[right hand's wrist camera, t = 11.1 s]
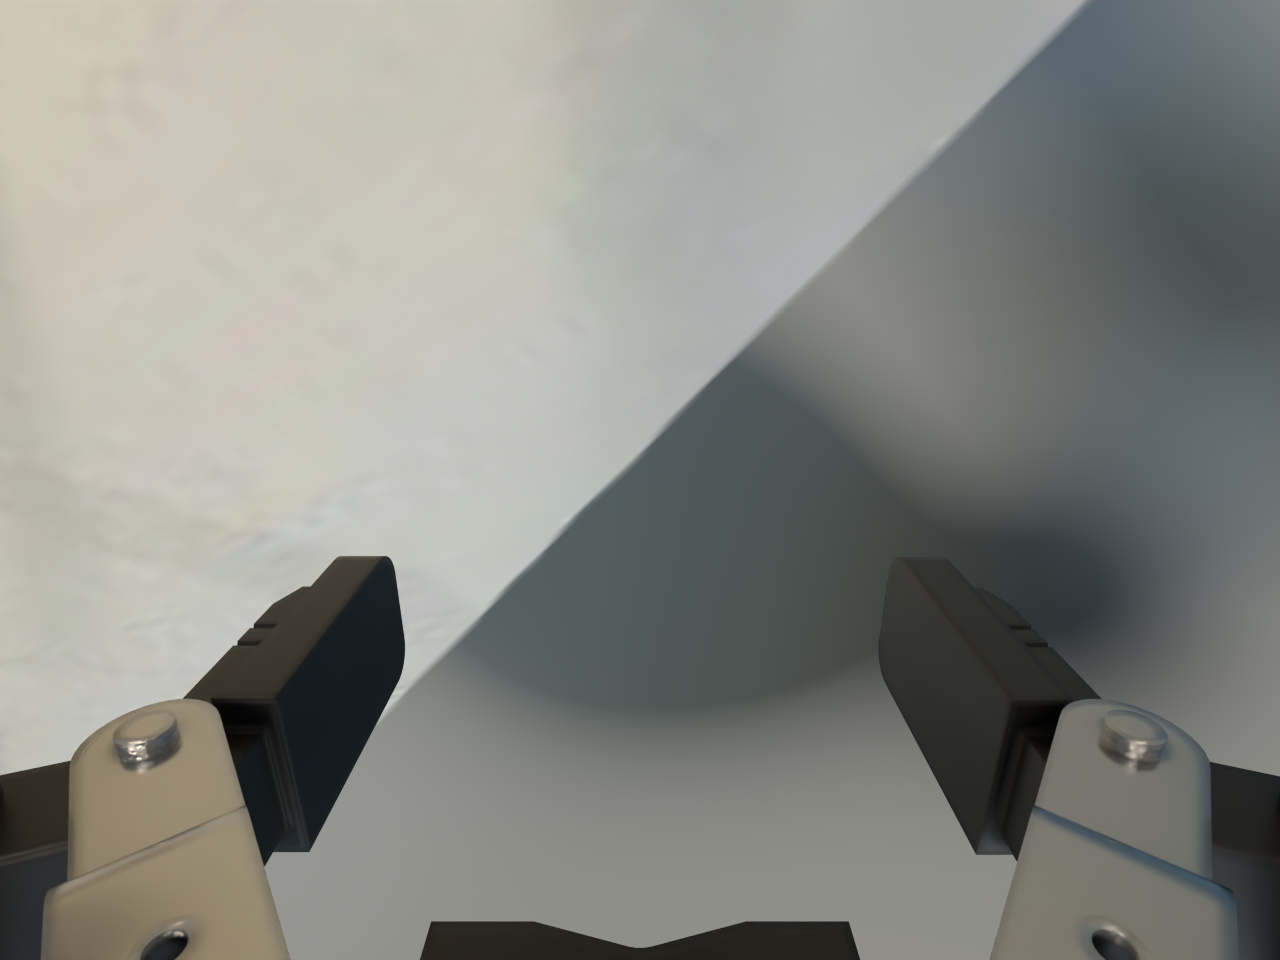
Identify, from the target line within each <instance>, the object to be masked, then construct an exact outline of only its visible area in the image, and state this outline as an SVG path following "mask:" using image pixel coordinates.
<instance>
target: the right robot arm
mask: <svg viewBox="0 0 1280 960" xmlns="http://www.w3.org/2000/svg"><path fill="white" fill-rule="evenodd" d="M404 657H405V640H404V632H403V625H402V618H401V611H400V604H399V597H398V589H397V582H396V575H395V569H394V566H393V563H392V561H391V559H390V558H389V557H387V556H340V557H337V558H336V559H335V560H334V561H333V562H332V563H331V565H330V566H329V567H328V568H327V569H326V570H325V571H324V572H323V573H322V575H321V576H320V577H319V578H318V579H317V580H316V581H315V582H314V583H313V585H312V586H311V587H301V588H300V589H298V590H296V591H295V592H293V593H291V594H289V595H288V596H286V597H284V598H283V599H281V600H279V601H277V602H276V603H274V604H273V605H272V606H271V607H270V608H269V609H268V610H267V611H266V612H265V613H264V614H263V615H262V616H261V617H260V618H259V619H258V620H257V621H256V622H255V623H254V628H250V629H249V630H248V631H247V632H246V633H245V634H244V635H243V636H242V637H241V638H240V639H239V640H238V644H237V646H233V647H232V648H231V649H230V650H229V651H228V652H227V653H226V654H225V655H224V656H223V657H222V658H221V659H220V660H219V661H218V662H217V663H216V664H215V665H214V666H213V668H212V669H211V670H210V671H209V672H208V673H207V674H206V675H205V676H204V677H203V678H202V679H201V680H200V681H199V682H198V683H197V684H196V685H195V686H194V687H193V689H192V690H191V691H190V692H189V693H188V694H187V695H186V696H185V697H184V698H183V699H177V700H168V701H164V702H159V703H155V704H151V705H148V706H144V707H142V708H139V709H136V710H134V711H131V712H129V713H127V714H124V715H122V716H120V717H118V718H116V719H115V720H113V721H111V722H109V723H107V724H106V725H104V726H103V727H101V728H100V729H98V730H97V731H96V732H94V733H93V734H92V735H91V736H89V737H88V738H87V739H86V740H85V741H84V742H83V743H82V744H81V745H80V746H79V748H78V749H77V750H76V752H75V753H74V755H73V757H72V759H71V761H67V762H62V763H58V764H53V765H48V766H43V767H38V768H34V769H29V770H24V771H19V772H15V773H10V774H5V775H0V960H291V959H290V956H289V952H288V949H287V945H286V942H285V938H284V935H283V931H282V928H281V924H280V921H279V917H278V914H277V910H276V907H275V903H274V900H273V896H272V893H271V889H270V886H269V882H268V879H267V875H266V872H265V868H264V867H265V865H266V863H267V861H268V860H269V858H270V856H271V854H272V853H273V852H309V851H310V850H311V848H312V846H313V844H314V842H315V840H316V838H317V836H318V834H319V832H320V830H321V828H322V827H323V825H324V823H325V821H326V819H327V817H328V815H329V813H330V811H331V809H332V807H333V806H334V804H335V802H336V800H337V798H338V796H339V794H340V792H341V790H342V788H343V786H344V785H345V783H346V781H347V779H348V777H349V775H350V773H351V771H352V769H353V767H354V765H355V763H356V762H357V760H358V758H359V756H360V754H361V752H362V750H363V748H364V746H365V744H366V742H367V740H368V739H369V737H370V735H371V733H372V731H373V729H374V727H375V725H376V723H377V721H378V719H379V718H380V716H381V714H382V712H383V710H384V708H385V706H386V704H387V702H388V700H389V698H390V697H391V695H392V693H393V691H394V689H395V687H396V685H397V683H398V681H399V679H400V676H401V673H402V669H403V665H404ZM879 662H880V668H881V672H882V676H883V678H884V681H885V683H886V685H887V687H888V689H889V691H890V693H891V694H892V696H893V698H894V700H895V702H896V704H897V706H898V708H899V710H900V712H901V713H902V715H903V717H904V719H905V721H906V723H907V725H908V727H909V728H910V730H911V732H912V734H913V736H914V738H915V740H916V742H917V744H918V746H919V747H920V749H921V751H922V753H923V755H924V757H925V759H926V761H927V763H928V764H929V766H930V768H931V770H932V772H933V774H934V776H935V778H936V779H937V781H938V783H939V785H940V787H941V789H942V791H943V793H944V795H945V797H946V798H947V800H948V802H949V804H950V806H951V808H952V810H953V812H954V814H955V815H956V817H957V819H958V821H959V823H960V825H961V827H962V829H963V831H964V832H965V834H966V836H967V838H968V840H969V842H970V844H971V846H972V848H973V849H974V851H975V853H976V854H977V855H1013V856H1014V857H1015V859H1016V861H1017V865H1016V868H1015V872H1014V875H1013V879H1012V882H1011V886H1010V889H1009V893H1008V896H1007V900H1006V903H1005V907H1004V910H1003V914H1002V917H1001V921H1000V924H999V928H998V931H997V935H996V938H995V942H994V945H993V949H992V952H991V956H990V959H989V960H1280V777H1279V776H1275V775H1270V774H1265V773H1260V772H1256V771H1251V770H1246V769H1241V768H1236V767H1231V766H1227V765H1222V764H1217V763H1213V762H1209V759H1208V757H1207V755H1206V753H1205V752H1204V750H1203V749H1202V748H1201V746H1200V745H1199V744H1198V743H1197V742H1196V741H1195V740H1194V739H1193V738H1192V737H1191V736H1189V735H1188V734H1187V733H1186V732H1184V731H1183V730H1182V729H1180V728H1179V727H1177V726H1176V725H1174V724H1173V723H1171V722H1169V721H1167V720H1165V719H1164V718H1162V717H1160V716H1158V715H1155V714H1153V713H1151V712H1149V711H1146V710H1144V709H1141V708H1138V707H1136V706H1132V705H1129V704H1125V703H1121V702H1116V701H1112V700H1104V699H1101V698H1100V697H1099V696H1098V695H1097V694H1096V693H1095V692H1094V691H1093V689H1092V688H1091V687H1090V686H1089V685H1088V684H1087V683H1086V682H1085V681H1084V680H1083V679H1082V678H1081V677H1080V676H1079V675H1078V674H1077V673H1076V672H1075V671H1074V670H1073V669H1072V668H1071V667H1070V666H1069V665H1068V664H1067V662H1066V661H1065V660H1064V659H1063V658H1062V657H1061V656H1060V655H1059V654H1058V653H1057V652H1056V651H1055V650H1054V649H1053V648H1052V647H1048V645H1047V642H1046V641H1045V640H1044V639H1043V638H1042V636H1041V635H1040V634H1039V633H1038V632H1037V631H1036V630H1031V625H1030V624H1029V623H1028V622H1027V621H1026V620H1025V619H1024V618H1023V617H1022V616H1021V615H1020V614H1019V613H1018V612H1017V611H1016V609H1015V608H1014V607H1013V606H1012V605H1010V604H1008V603H1007V602H1005V601H1003V600H1001V599H1000V598H998V597H996V596H995V595H993V594H991V593H989V592H988V591H986V590H984V589H982V588H974V587H973V586H972V585H971V584H970V583H969V582H968V581H967V580H966V579H965V578H964V577H963V575H962V574H961V573H960V572H959V571H958V570H957V569H956V568H955V566H954V565H953V564H952V563H951V562H950V561H949V560H948V559H946V558H944V557H897V558H895V559H894V560H893V562H892V564H891V566H890V570H889V575H888V582H887V589H886V596H885V603H884V610H883V617H882V624H881V631H880V638H879ZM420 960H860V958H859V955H858V951H857V948H856V945H855V941H854V938H853V934H852V931H851V928H850V924H849V922H743V923H739V924H735V925H731V926H728V927H724V928H720V929H716V930H713V931H709V932H705V933H701V934H697V935H694V936H690V937H686V938H682V939H679V940H675V941H671V942H667V943H664V944H660V945H656V946H652V947H647V948H633V947H628V946H624V945H620V944H617V943H613V942H609V941H605V940H602V939H598V938H594V937H590V936H586V935H582V934H579V933H575V932H571V931H567V930H564V929H560V928H556V927H552V926H549V925H545V924H541V923H537V922H431V924H430V928H429V931H428V934H427V938H426V941H425V945H424V948H423V951H422V955H421V958H420Z"/></svg>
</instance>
